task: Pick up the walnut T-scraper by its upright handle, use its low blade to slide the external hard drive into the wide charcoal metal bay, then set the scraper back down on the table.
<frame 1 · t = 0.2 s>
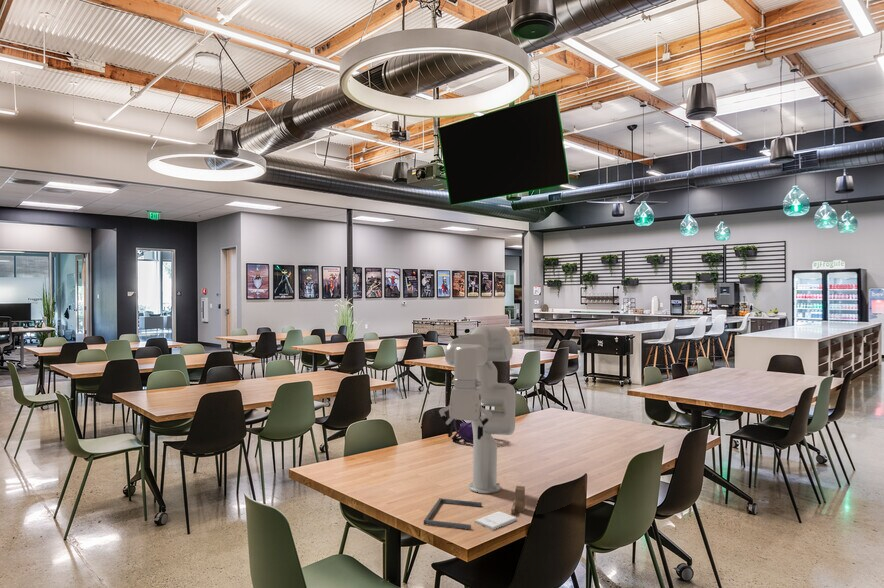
hand: (464, 437, 175), 31 cm above the table, tool pointing down, fingers open, 9 cm apart
external hard drive: (495, 523, 185), on the table
pusher: (519, 509, 196), on the table
decorative bottle: (470, 441, 296), on the table
bay: (455, 514, 190), on the table
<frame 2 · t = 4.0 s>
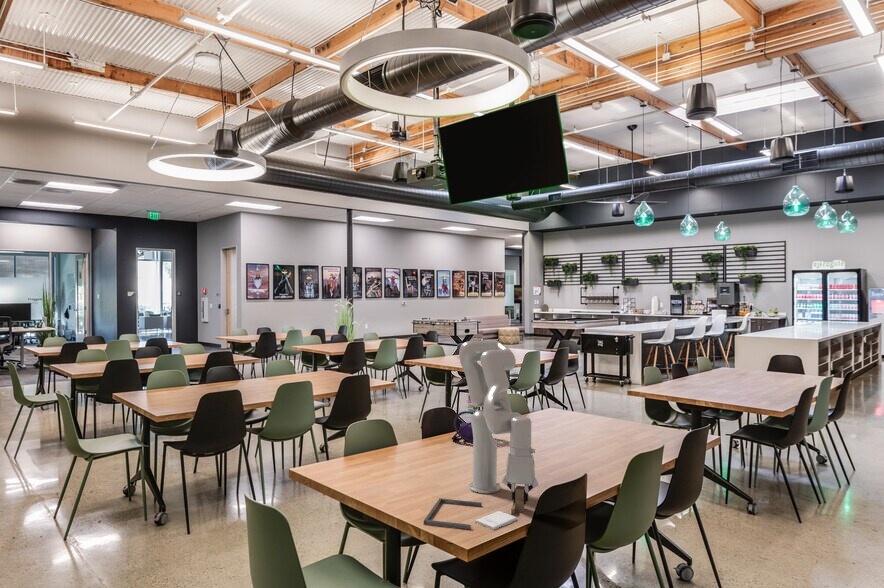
hand: (519, 502, 196), 3 cm above the table, tool pointing down, fingers closed on pusher, 3 cm apart
pusher: (519, 509, 196), on the table, touching gripper
everything else where it was.
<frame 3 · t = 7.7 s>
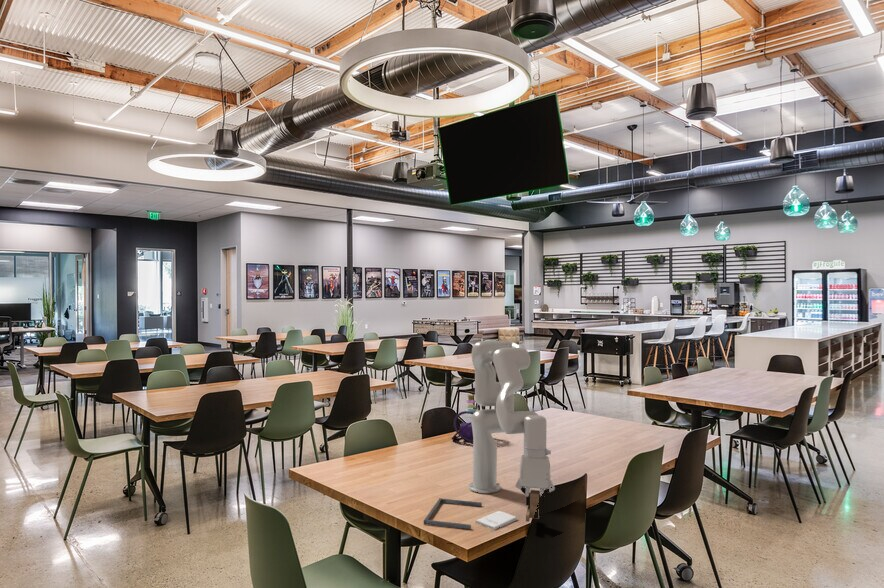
hand: (534, 507, 181), 6 cm above the table, tool pointing down, fingers closed on pusher, 3 cm apart
pusher: (534, 516, 181), point 3 cm above the table, touching gripper
everything else where it was.
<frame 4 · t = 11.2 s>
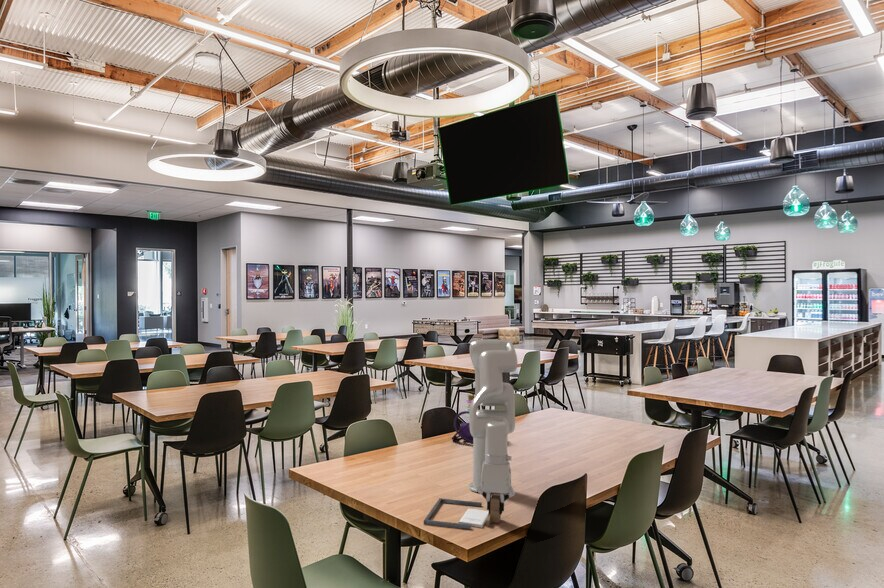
hand: (495, 512, 185), 3 cm above the table, tool pointing down, fingers closed on pusher, 3 cm apart
external hard drive: (474, 521, 186), on the table
pusher: (495, 519, 185), on the table, touching gripper
everything else where it was.
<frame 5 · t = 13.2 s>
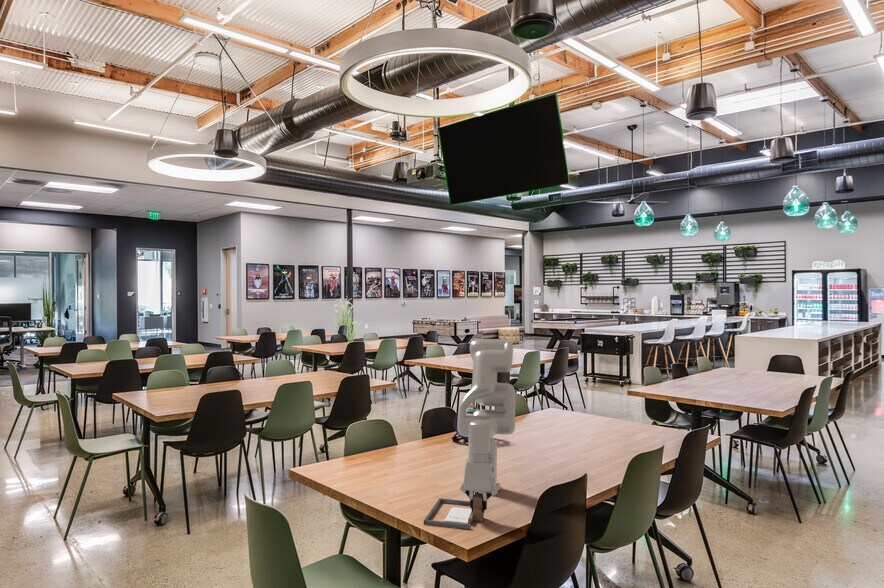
hand: (478, 510, 186), 3 cm above the table, tool pointing down, fingers closed on pusher, 2 cm apart
external hard drive: (459, 519, 188), on the table
pusher: (478, 518, 187), on the table, touching gripper
everything else where it was.
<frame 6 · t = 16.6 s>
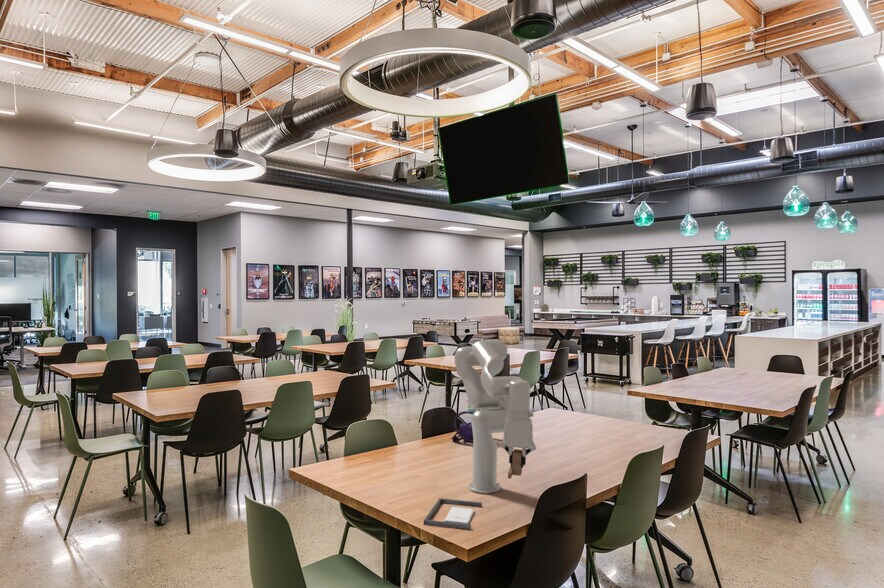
hand: (517, 465, 194), 17 cm above the table, tool pointing down, fingers closed on pusher, 3 cm apart
pusher: (517, 473, 194), point 14 cm above the table, touching gripper
everything else where it was.
when the fingers open (4 cm above the table, at t = 19.6 s): pusher drops 1 cm, on the table.
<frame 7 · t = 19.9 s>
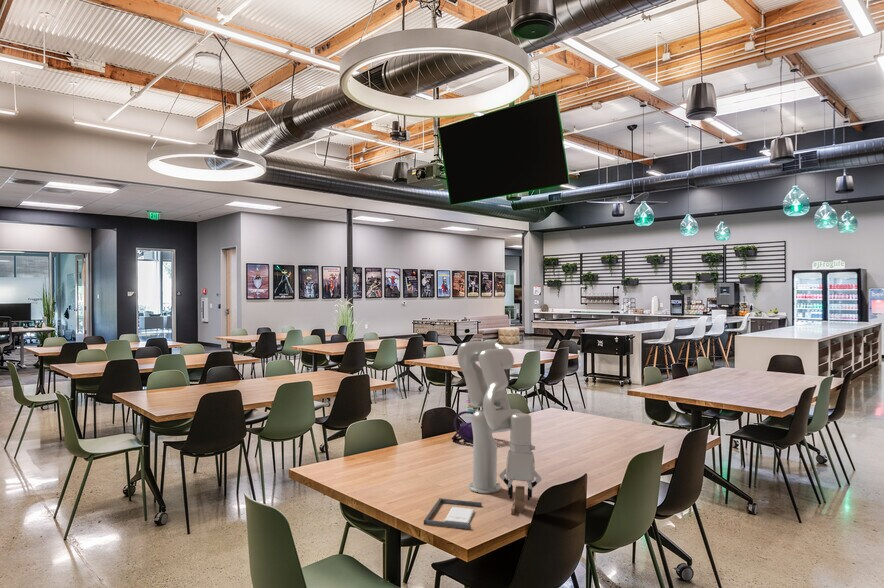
hand: (520, 497, 196), 4 cm above the table, tool pointing down, fingers open, 5 cm apart
pusher: (519, 509, 196), on the table
everything else where it was.
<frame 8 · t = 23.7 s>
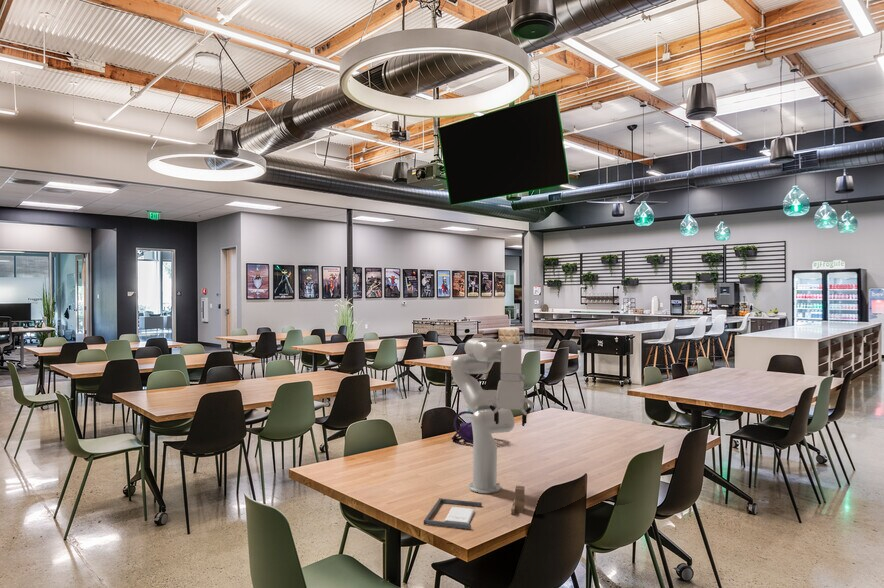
hand: (510, 424, 198), 30 cm above the table, tool pointing down, fingers open, 9 cm apart
nothing on the table moved.
at the end: external hard drive inside the target area on the bay (2.5 cm from its centre), point -0.8 cm above the bay's base; the gripper is holding nothing; pusher touching table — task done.
